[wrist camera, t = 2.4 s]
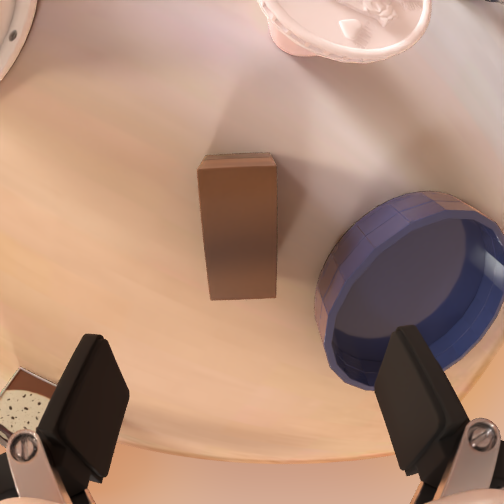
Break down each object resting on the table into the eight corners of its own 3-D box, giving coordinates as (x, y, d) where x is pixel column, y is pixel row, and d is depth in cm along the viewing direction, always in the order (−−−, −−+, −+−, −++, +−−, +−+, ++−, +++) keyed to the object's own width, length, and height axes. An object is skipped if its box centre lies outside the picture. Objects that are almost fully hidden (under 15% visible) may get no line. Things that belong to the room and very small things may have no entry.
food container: (17, 387, 30) (-10, 442, 22) (10, 361, 28) (-23, 421, 19) (95, 423, 33) (77, 485, 24) (96, 401, 30) (74, 471, 22)
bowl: (322, 188, 20) (339, 209, 16) (503, 196, 20) (532, 213, 17) (305, 369, 28) (312, 403, 24) (453, 346, 28) (469, 370, 25)
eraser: (205, 155, 19) (196, 169, 15) (270, 152, 19) (277, 165, 15) (214, 267, 22) (210, 300, 19) (270, 265, 23) (276, 298, 19)
